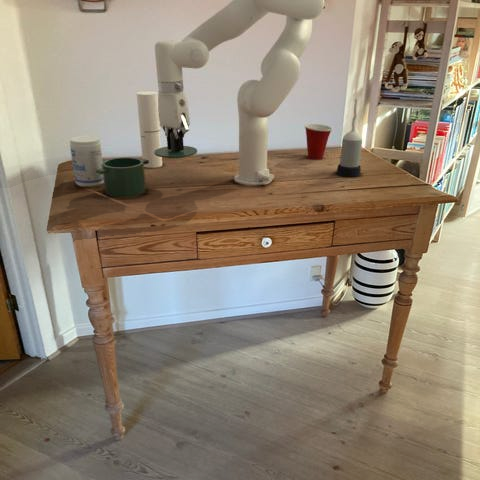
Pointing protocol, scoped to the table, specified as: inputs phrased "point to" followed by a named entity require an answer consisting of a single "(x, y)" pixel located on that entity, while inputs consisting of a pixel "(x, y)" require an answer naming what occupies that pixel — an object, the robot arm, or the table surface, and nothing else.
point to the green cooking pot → (123, 176)
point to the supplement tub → (86, 160)
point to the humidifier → (351, 151)
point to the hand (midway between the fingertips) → (175, 149)
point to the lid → (171, 153)
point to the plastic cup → (317, 139)
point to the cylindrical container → (149, 127)
